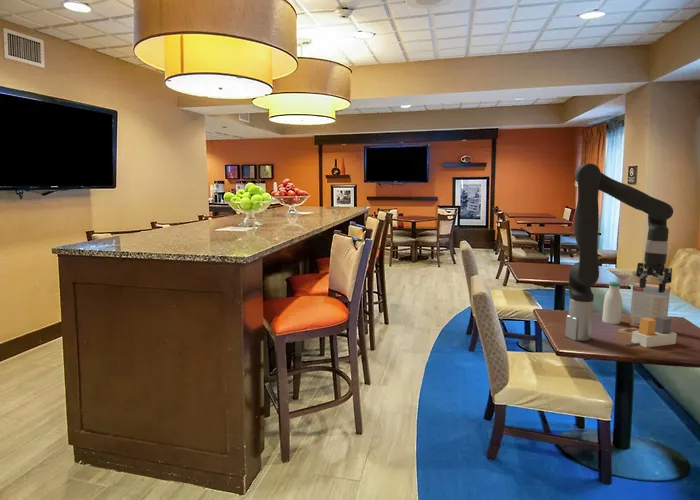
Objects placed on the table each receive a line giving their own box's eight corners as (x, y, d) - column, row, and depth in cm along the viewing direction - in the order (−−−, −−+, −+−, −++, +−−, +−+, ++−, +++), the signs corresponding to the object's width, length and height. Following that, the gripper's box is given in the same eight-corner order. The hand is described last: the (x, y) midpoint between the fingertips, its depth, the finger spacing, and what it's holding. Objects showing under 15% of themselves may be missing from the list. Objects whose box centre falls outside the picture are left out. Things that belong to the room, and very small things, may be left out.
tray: (635, 339, 204) (635, 335, 204) (618, 332, 213) (618, 329, 212) (651, 337, 207) (651, 333, 206) (634, 331, 215) (634, 327, 215)
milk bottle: (623, 325, 224) (627, 284, 221) (607, 324, 224) (610, 284, 221) (614, 320, 232) (618, 280, 229) (599, 320, 232) (602, 280, 229)
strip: (634, 349, 191) (636, 323, 190) (620, 344, 198) (622, 318, 196) (675, 344, 198) (678, 319, 196) (660, 339, 204) (662, 314, 203)
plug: (646, 344, 195) (648, 321, 194) (637, 341, 199) (640, 318, 197) (653, 343, 196) (656, 320, 195) (645, 340, 200) (647, 317, 199)
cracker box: (666, 330, 217) (671, 286, 214) (663, 333, 212) (668, 288, 209) (631, 324, 226) (636, 281, 223) (628, 326, 222) (632, 283, 219)
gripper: (633, 249, 197) (629, 286, 200) (664, 254, 184) (660, 294, 186) (647, 248, 199) (643, 285, 202) (679, 253, 186) (674, 293, 188)
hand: (651, 290), depth 194 cm, fingers open, 8 cm apart
